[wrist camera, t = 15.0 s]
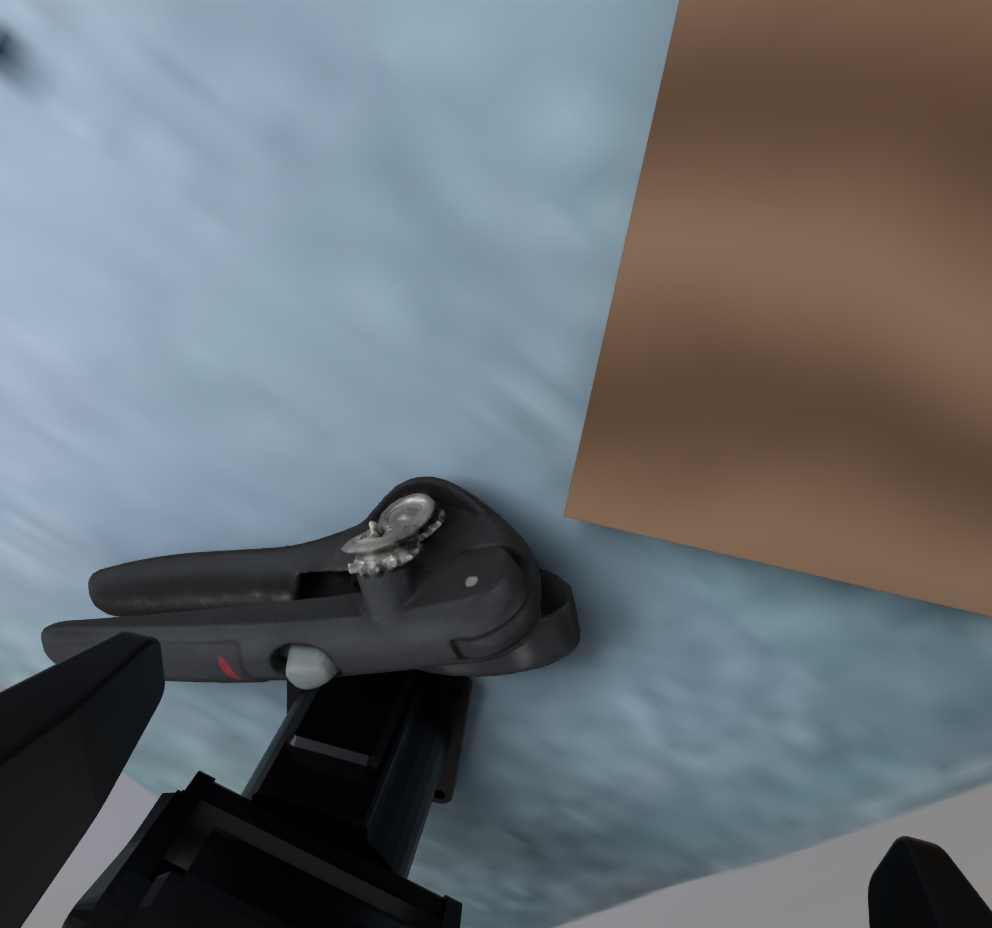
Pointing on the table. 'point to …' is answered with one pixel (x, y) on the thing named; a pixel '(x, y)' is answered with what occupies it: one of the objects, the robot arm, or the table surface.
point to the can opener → (345, 600)
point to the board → (809, 299)
